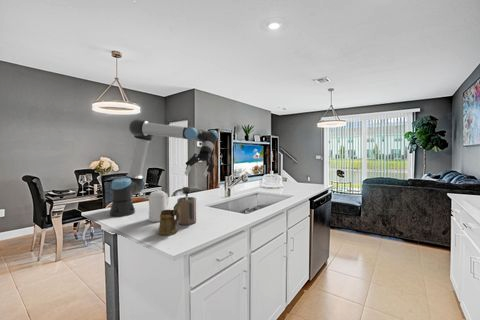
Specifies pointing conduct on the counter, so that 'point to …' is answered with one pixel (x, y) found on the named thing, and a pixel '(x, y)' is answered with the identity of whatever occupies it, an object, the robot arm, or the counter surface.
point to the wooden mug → (169, 220)
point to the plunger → (186, 191)
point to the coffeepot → (157, 204)
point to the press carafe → (187, 211)
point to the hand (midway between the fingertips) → (195, 175)
